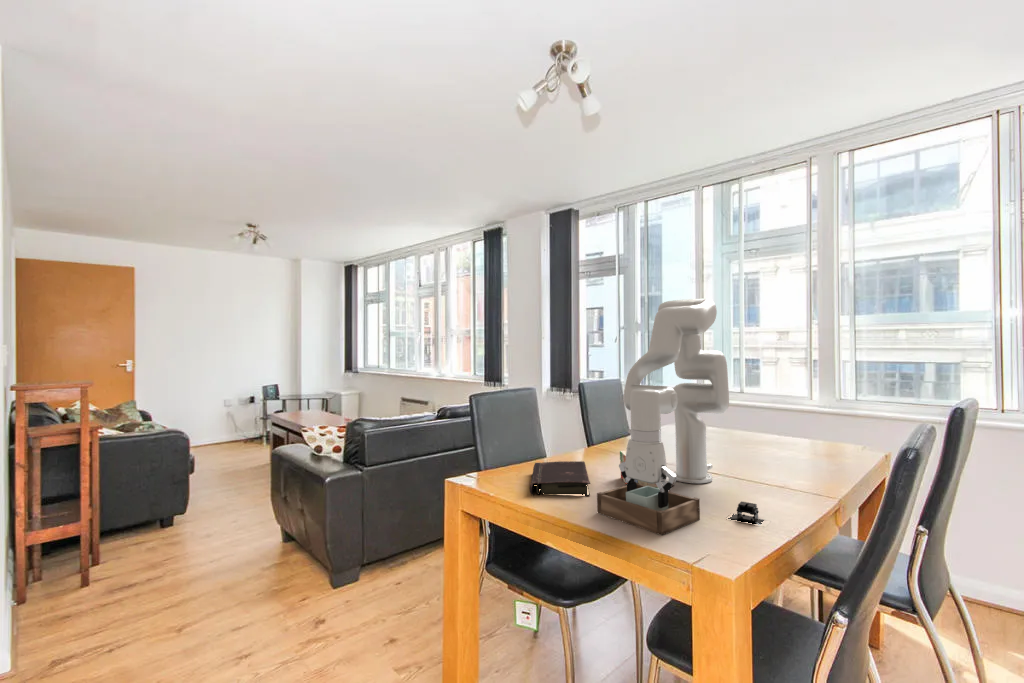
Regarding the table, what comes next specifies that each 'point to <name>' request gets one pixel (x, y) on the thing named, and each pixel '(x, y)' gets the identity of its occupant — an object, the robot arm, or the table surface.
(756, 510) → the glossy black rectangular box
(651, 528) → the big crate
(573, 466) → the diary
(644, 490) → the small crate
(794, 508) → the table surface
